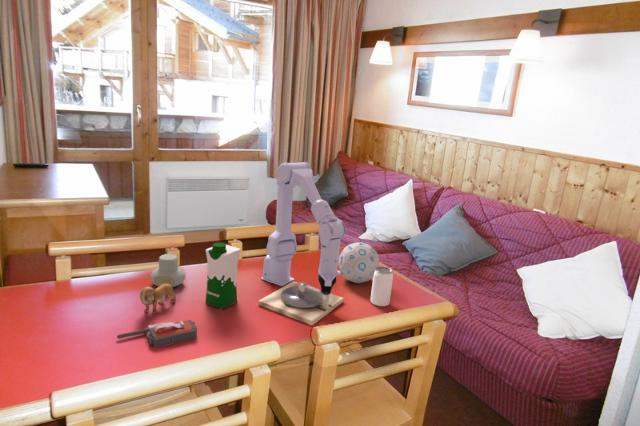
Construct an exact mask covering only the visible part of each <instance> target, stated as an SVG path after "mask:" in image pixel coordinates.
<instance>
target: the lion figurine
mask: <svg viewBox="0 0 640 426" xmlns="http://www.w3.org/2000/svg"><path fill="white" fill-rule="evenodd" d="M166 295H167V296H168V297H169V298H171V299H172V300H171V303H172V304H175V303H176V302H177V298H176V295H175V294H174V287H172V286H171V285H170V284H162V285H161V286H157V288H154V287H152V286H145V287H142V288H141V290H140V291H139V299H140V302H141V304H143V305H144V306H145V307H144V308H145V309H144V310H143V312H144V313H148V312H149V310H150V306H151V305H152V312H151V313H152V314H154V315H155V314H157V313H158V312H157V305H158V304H159V305H162V304H163V303H164V301H165V300H166Z"/></svg>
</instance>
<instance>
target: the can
mask: <svg viewBox="0 0 640 426" xmlns="http://www.w3.org/2000/svg"><path fill="white" fill-rule="evenodd" d="M393 279H394V273H393V269H391V268H390V267H386V266H379V267H377V268H376V270H375V272H374V276H373V278H372V285H371V292H370V293H371V294H370V302H371V304H372V305H373V306H376V307H380V308H383V307H387V306H388V305H390V300H391V295H392V287H393V281H394V280H393Z"/></svg>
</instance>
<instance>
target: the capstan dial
mask: <svg viewBox="0 0 640 426" xmlns="http://www.w3.org/2000/svg"><path fill="white" fill-rule="evenodd" d="M298 283H299V286H296V287H290V288H287V289H285V290H283V291H282V292H281V301H282V302H283V303H284V304H285V305H287V306H290V307H292V308H297V309H313V308H317V307H319V306H323V307H327V306H328V305H329V296H330V294H331V293H330V294H329V293H326V292H324V291H321V289H319V288H316V287H314V286H313V285H309V284H308V283H306V282H303V281H302V282H298Z"/></svg>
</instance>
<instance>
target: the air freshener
mask: <svg viewBox="0 0 640 426" xmlns="http://www.w3.org/2000/svg"><path fill="white" fill-rule="evenodd" d="M178 263H179V261H178V256H177V255H176V254H172V253H165V254H162V255H160V256H159V257H158V267H157V268H155V269H154V270H153V271H152V272H151V274H150V281H151V282H152V283H153V285H155V286H156V287H159V286H161V285H162V284H170V285H171V286H172V288H175V287H177V286H179V285H181V284H182V283H183V282H184V281H185V279H186V272H185V271H184V270H183V268H182V267H179V266H178Z"/></svg>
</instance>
